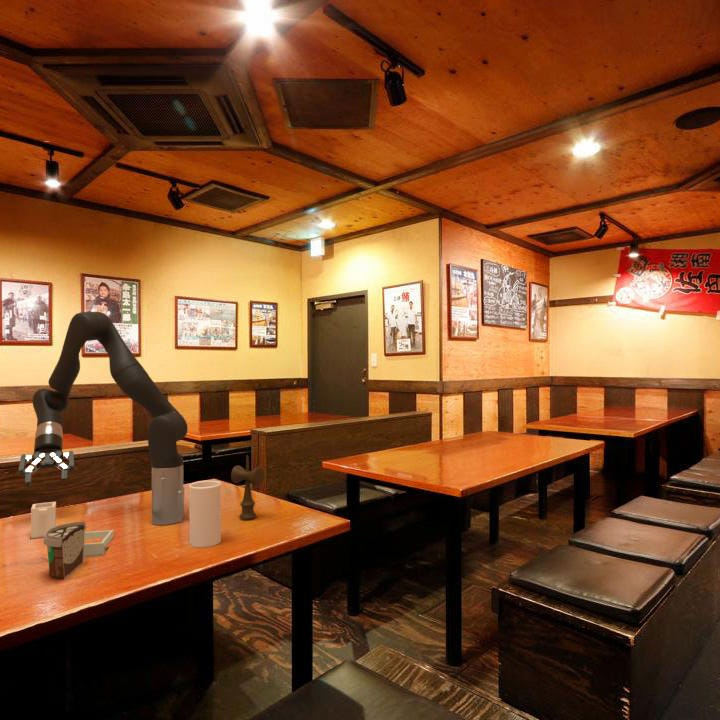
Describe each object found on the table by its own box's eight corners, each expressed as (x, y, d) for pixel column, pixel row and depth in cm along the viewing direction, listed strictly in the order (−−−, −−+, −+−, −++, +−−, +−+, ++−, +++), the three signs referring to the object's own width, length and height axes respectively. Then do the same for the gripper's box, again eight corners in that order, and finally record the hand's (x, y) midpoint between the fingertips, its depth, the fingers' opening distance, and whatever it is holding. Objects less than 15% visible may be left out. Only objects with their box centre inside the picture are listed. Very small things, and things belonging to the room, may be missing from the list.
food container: (60, 561, 125) (60, 521, 125) (85, 560, 126) (85, 520, 126) (32, 583, 113) (32, 538, 113) (60, 582, 113) (60, 537, 113)
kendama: (254, 523, 154) (254, 458, 155) (229, 519, 158) (229, 455, 159) (265, 517, 160) (265, 454, 160) (241, 513, 164) (241, 452, 164)
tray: (113, 541, 139) (113, 529, 139) (103, 555, 129) (103, 543, 129) (72, 544, 137) (72, 532, 137) (58, 559, 127) (58, 546, 127)
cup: (192, 549, 133) (192, 488, 133) (187, 539, 140) (187, 482, 140) (223, 544, 137) (223, 485, 137) (217, 535, 144) (217, 479, 144)
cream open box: (56, 529, 145) (56, 501, 145) (54, 536, 139) (54, 507, 139) (32, 532, 142) (32, 504, 142) (30, 539, 136) (30, 510, 136)
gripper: (21, 433, 154) (16, 479, 144) (74, 430, 161) (73, 473, 151) (22, 448, 159) (18, 493, 148) (74, 445, 165) (74, 487, 155)
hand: (46, 483), depth 150 cm, fingers open, 8 cm apart
